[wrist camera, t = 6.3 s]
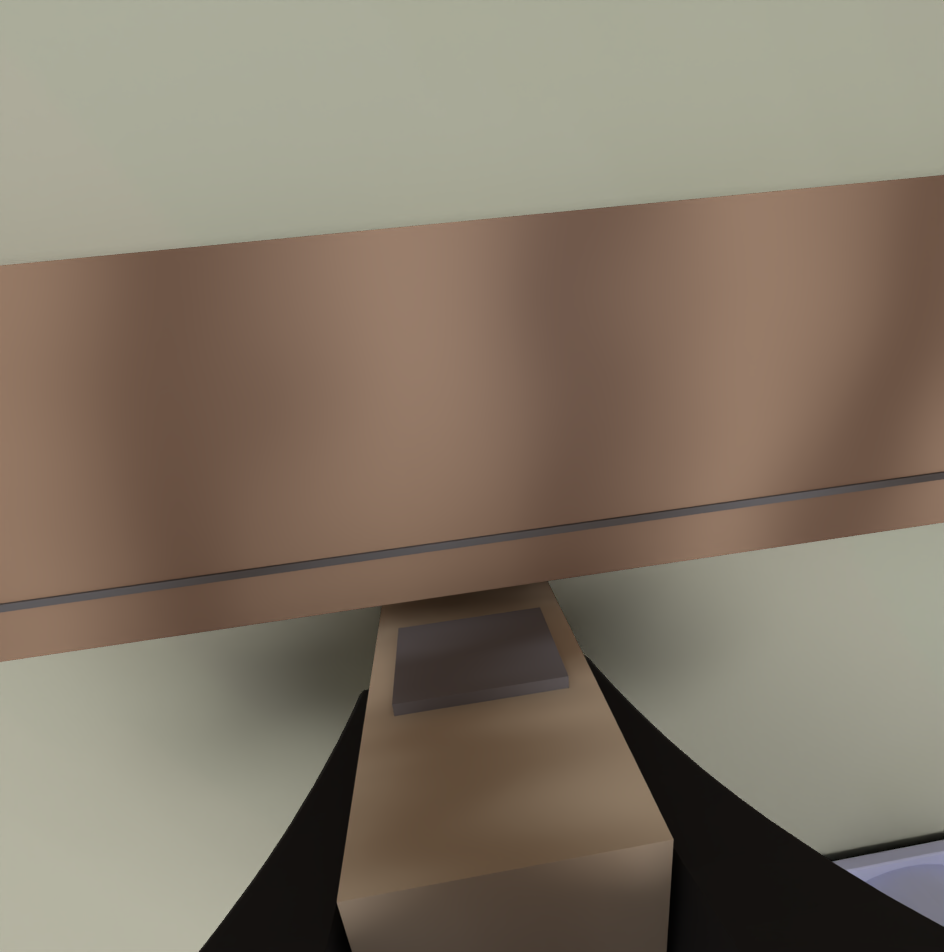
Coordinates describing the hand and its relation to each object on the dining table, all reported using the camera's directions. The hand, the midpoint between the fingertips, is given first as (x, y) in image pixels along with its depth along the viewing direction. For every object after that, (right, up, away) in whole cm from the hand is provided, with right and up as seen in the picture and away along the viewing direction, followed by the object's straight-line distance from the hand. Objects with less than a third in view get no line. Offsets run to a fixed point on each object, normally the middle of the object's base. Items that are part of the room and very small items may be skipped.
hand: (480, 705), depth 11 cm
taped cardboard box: (0, +1, +1) cm, 2 cm away
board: (+2, +7, 0) cm, 8 cm away
